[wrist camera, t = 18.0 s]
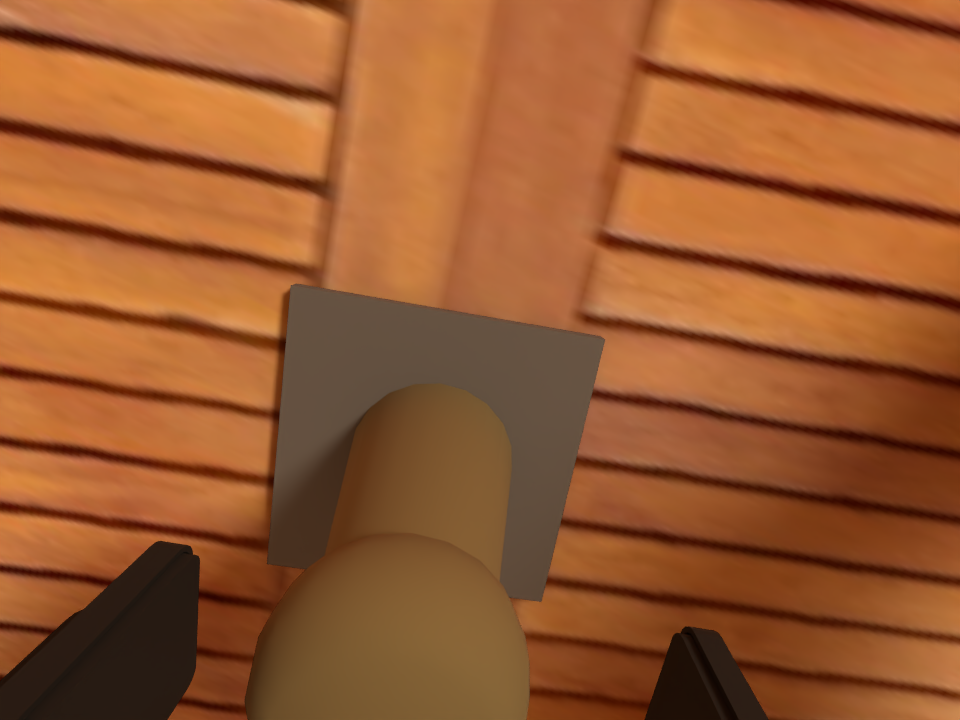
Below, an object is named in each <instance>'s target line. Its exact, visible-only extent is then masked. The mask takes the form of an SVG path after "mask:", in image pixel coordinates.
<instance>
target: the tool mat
mask: <svg viewBox="0 0 960 720" xmlns="http://www.w3.org/2000/svg"><path fill="white" fill-rule="evenodd" d="M604 342H605V339H603V338H602V337H601V336H595V335H590V334H584V333H578V332H572V331H566V330H561V329H555V328H549V327H543V326H538V325H532V324H526V323H520V322H514V321H509V320H503V319H497V318H491V317H486V316H480V315H474V314H468V313H462V312H457V311H451V310H445V309H439V308H434V307H428V306H422V305H416V304H410V303H405V302H399V301H393V300H387V299H382V298H376V297H370V296H364V295H359V294H353V293H347V292H341V291H335V290H330V289H324V288H318V287H312V286H307V285H301V284H294V285H291V289H290V300H289V312H288V324H287V335H286V347H285V359H284V370H283V382H282V394H281V406H280V417H279V429H278V441H277V452H276V464H275V476H274V487H273V499H272V511H271V523H270V534H269V546H268V558H267V564H271V565H278V566H285V567H292V568H300V569H307V568H308V567H309V566H311V565H312V564H314V563H315V562H316V561H318V560H319V559H320V558H322V557H323V556H325V552H326V547H327V543H328V539H329V535H330V531H331V527H332V523H333V519H334V515H335V511H336V507H337V503H338V499H339V495H340V491H341V486H342V482H343V478H344V474H345V470H346V466H347V462H348V458H349V454H350V450H351V446H352V442H353V438H354V434H355V430H356V427H357V426H358V424H359V423H360V421H361V420H362V418H363V417H364V415H365V414H366V412H367V411H368V409H369V408H370V407H372V406H373V405H374V404H375V403H377V402H378V401H379V400H381V399H382V398H383V397H385V396H386V395H387V394H388V393H390V392H393V391H396V390H399V389H402V388H405V387H407V386H410V385H413V384H436V383H441V384H445V385H448V386H452V387H455V388H459V389H463V390H466V391H468V392H469V393H471V394H472V395H474V396H475V397H477V398H478V399H480V400H482V401H483V402H485V403H486V404H488V406H489V407H490V408H491V409H492V411H493V412H494V413H495V414H496V415H497V417H498V418H499V419H500V420H501V422H502V423H503V425H504V427H505V430H506V433H507V435H508V438H509V441H510V444H511V453H512V472H511V481H510V490H509V499H508V508H507V518H506V527H505V536H504V545H503V554H502V564H501V573H500V583H501V584H502V585H503V586H504V588H505V590H506V592H507V594H508V597H510V598H517V599H524V600H532V601H539V602H541V601H542V597H543V593H544V589H545V585H546V581H547V577H548V572H549V568H550V564H551V560H552V556H553V552H554V548H555V544H556V539H557V535H558V531H559V527H560V523H561V519H562V515H563V511H564V507H565V502H566V498H567V494H568V490H569V486H570V482H571V478H572V474H573V469H574V465H575V461H576V457H577V453H578V449H579V445H580V441H581V437H582V432H583V428H584V424H585V420H586V416H587V412H588V408H589V404H590V399H591V395H592V391H593V387H594V383H595V379H596V375H597V371H598V367H599V362H600V358H601V354H602V350H603V346H604Z"/></svg>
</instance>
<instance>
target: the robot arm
mask: <svg viewBox="0 0 960 720" xmlns="http://www.w3.org/2000/svg"><path fill="white" fill-rule="evenodd" d="M199 570H200V558H199V556H197V555H193V551H192V548H191V546H188V545H182V544H176V543H170V542H164V541H158V542H156V543H154V544H153V545H152V546H151V547H149V548H148V549H147V550H146V551H145V552H144V553H143V554H142V555H141V556H140V557H139V558H138V559H137V560H136V561H135V562H133V563H132V564H131V565H130V566H129V567H128V568H127V569H126V570H125V571H124V572H123V573H122V574H121V575H120V576H119V577H118V578H116V579H115V580H114V581H113V582H112V583H111V584H110V585H109V586H108V587H107V588H106V589H105V590H104V591H103V592H102V593H100V594H99V595H98V596H97V597H96V598H95V599H94V600H93V601H92V602H91V603H90V604H89V605H88V606H87V607H86V608H84V609H83V610H81V611H79V612H76V613H74V614H73V615H72V616H71V617H69V618H68V619H67V620H65V621H64V622H63V623H62V624H61V625H60V626H59V627H58V628H57V629H56V630H55V631H54V632H52V633H51V634H50V635H49V636H48V637H47V638H46V639H45V640H44V641H43V642H42V643H41V644H40V645H38V646H37V647H36V648H35V649H34V650H33V651H32V652H31V653H30V654H29V655H28V656H27V657H25V658H24V659H23V660H22V661H21V662H20V663H19V664H18V665H17V666H16V667H15V668H14V669H12V670H11V671H10V672H9V673H8V674H7V675H6V676H5V677H4V678H3V679H2V680H1V681H0V720H167V719H168V718H169V716H170V715H171V713H172V712H173V710H174V709H175V707H176V705H177V704H178V702H179V701H180V699H181V698H182V696H183V695H184V693H185V692H186V690H187V688H188V687H189V685H190V683H191V681H192V678H193V675H194V672H195V668H196V651H197V624H198V597H199ZM645 720H768V718H767V716H766V714H765V713H764V711H763V709H762V707H761V706H760V704H759V702H758V700H757V699H756V697H755V695H754V693H753V692H752V690H751V688H750V686H749V685H748V683H747V681H746V679H745V678H744V676H743V674H742V672H741V671H740V669H739V667H738V665H737V664H736V662H735V660H734V658H733V657H732V655H731V653H730V651H729V650H728V648H727V646H726V644H725V643H724V641H723V639H722V637H721V636H720V635H719V633H717V632H716V631H713V630H707V629H701V628H695V627H684V628H683V629H682V631H681V633H675V634H674V636H673V638H672V640H671V643H670V646H669V649H668V652H667V655H666V658H665V661H664V664H663V667H662V670H661V673H660V676H659V679H658V682H657V685H656V688H655V691H654V694H653V696H652V699H651V702H650V705H649V708H648V711H647V714H646V717H645Z"/></svg>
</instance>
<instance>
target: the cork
mask: <svg viewBox="0 0 960 720" xmlns="http://www.w3.org/2000/svg"><path fill="white" fill-rule="evenodd" d="M511 472H512V453H511V444H510V441H509V438H508V435H507V433H506V430H505V427H504V425H503V423H502V422H501V420H500V419H499V418H498V417H497V415H496V414H495V413H494V412H493V411H492V409H491V408H490V407H489V406H488V404H486V403H485V402H483V401H482V400H480V399H478V398H477V397H475V396H474V395H472V394H471V393H469V392H468V391H466V390H463V389H459V388H455V387H452V386H448V385H445V384H441V383H436V384H413V385H410V386H407V387H405V388H402V389H399V390H396V391H393V392H390V393H388V394H387V395H386V396H385V397H383V398H382V399H381V400H379V401H378V402H377V403H375V404H374V405H373V406H372V407H370V408H369V409H368V411H367V412H366V414H365V415H364V417H363V418H362V420H361V421H360V423H359V424H358V426H357V427H356V430H355V434H354V438H353V442H352V446H351V450H350V454H349V458H348V462H347V466H346V470H345V474H344V478H343V482H342V486H341V491H340V495H339V499H338V503H337V507H336V511H335V515H334V519H333V523H332V527H331V531H330V535H329V539H328V543H327V547H326V552H325V556H323V557H322V558H320V559H319V560H318V561H316V562H315V563H314V564H312V565H311V566H309V567H308V568H307V569H306V570H305V571H304V572H303V573H302V574H301V575H300V576H299V577H298V578H297V579H296V580H295V581H294V582H293V583H292V584H291V586H290V587H289V589H288V590H287V591H286V593H285V594H284V596H283V597H282V599H281V600H280V602H279V603H278V605H277V606H276V608H275V609H274V610H273V612H272V613H271V615H270V617H269V619H268V621H267V622H266V624H265V626H264V628H263V630H262V631H261V633H260V635H259V637H258V641H257V645H256V650H255V654H254V659H253V663H252V668H251V673H250V677H249V682H248V687H247V691H246V696H245V707H246V713H247V719H248V720H527V713H528V706H529V698H530V674H529V656H528V650H527V643H526V637H525V635H524V632H523V630H522V627H521V625H520V622H519V620H518V617H517V615H516V612H515V610H514V607H513V605H512V603H511V601H510V599H509V597H508V594H507V592H506V590H505V588H504V586H503V585H502V584H501V583H500V573H501V564H502V554H503V545H504V536H505V527H506V518H507V508H508V499H509V490H510V481H511Z"/></svg>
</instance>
